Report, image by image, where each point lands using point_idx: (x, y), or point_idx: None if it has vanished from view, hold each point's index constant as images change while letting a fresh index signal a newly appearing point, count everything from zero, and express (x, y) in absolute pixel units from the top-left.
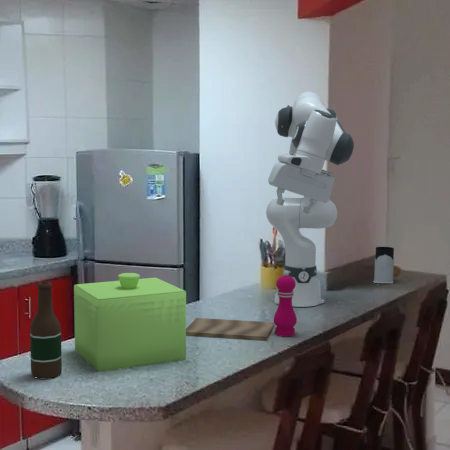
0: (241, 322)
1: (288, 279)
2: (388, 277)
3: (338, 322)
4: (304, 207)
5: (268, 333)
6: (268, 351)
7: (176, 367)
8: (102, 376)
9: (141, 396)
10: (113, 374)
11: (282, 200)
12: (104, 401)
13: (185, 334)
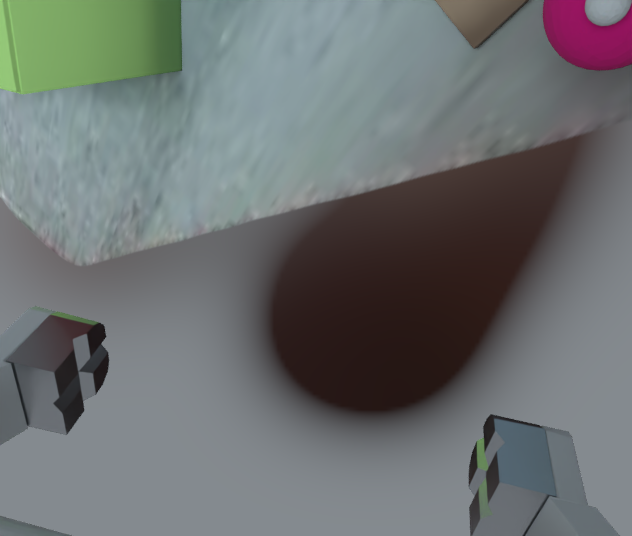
0: None
1: (582, 53)
2: None
3: None
4: (491, 477)
5: (516, 9)
6: (395, 153)
7: (145, 114)
8: None
9: (59, 213)
10: None
11: (42, 416)
12: (15, 193)
13: (132, 77)
